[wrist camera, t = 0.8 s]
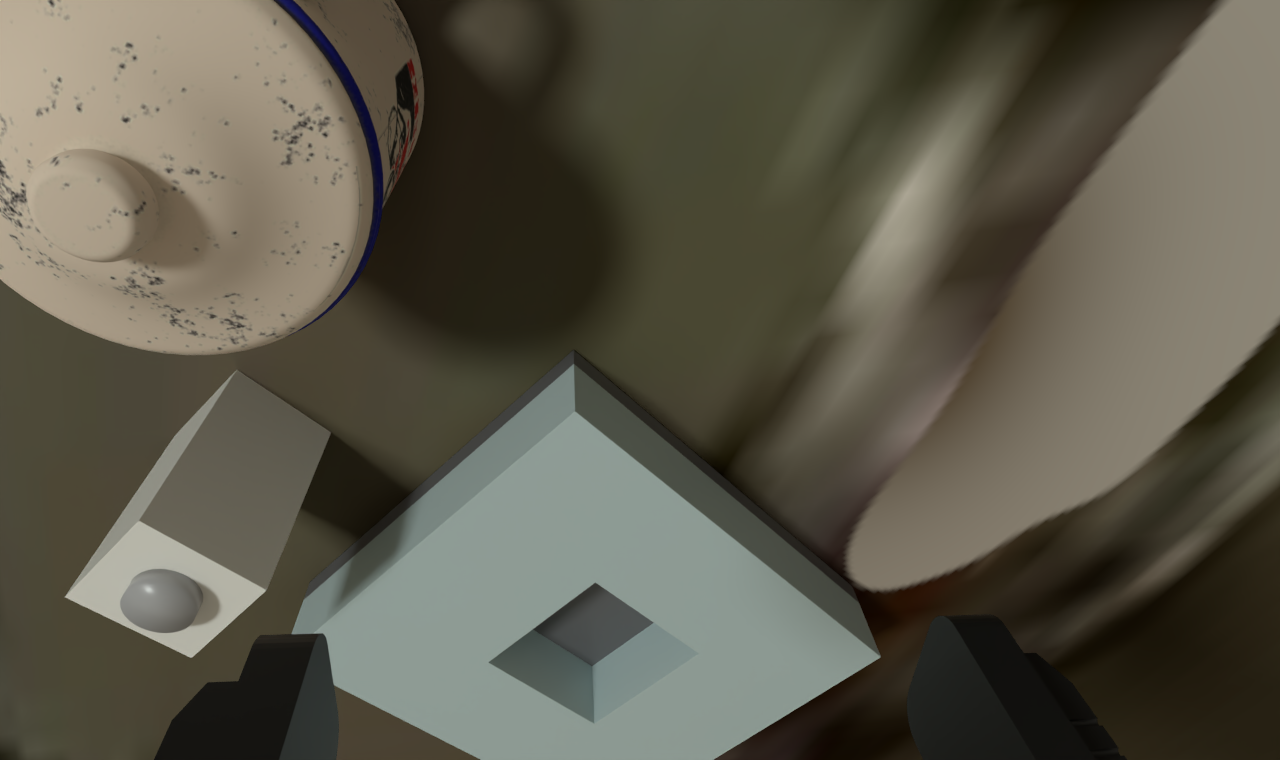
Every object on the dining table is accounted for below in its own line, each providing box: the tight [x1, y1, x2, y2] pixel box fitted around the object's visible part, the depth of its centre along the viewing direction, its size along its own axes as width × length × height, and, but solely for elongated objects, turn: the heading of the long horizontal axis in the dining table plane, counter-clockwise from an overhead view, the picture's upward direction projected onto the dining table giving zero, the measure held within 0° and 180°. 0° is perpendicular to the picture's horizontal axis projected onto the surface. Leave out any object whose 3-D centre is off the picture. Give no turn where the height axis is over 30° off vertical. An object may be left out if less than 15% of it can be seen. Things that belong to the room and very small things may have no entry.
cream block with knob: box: [65, 370, 331, 658], centre depth 27 cm, size 4×4×9 cm
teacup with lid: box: [0, 0, 424, 355], centre depth 19 cm, size 12×9×12 cm
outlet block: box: [292, 350, 881, 760], centre depth 35 cm, size 16×18×4 cm
